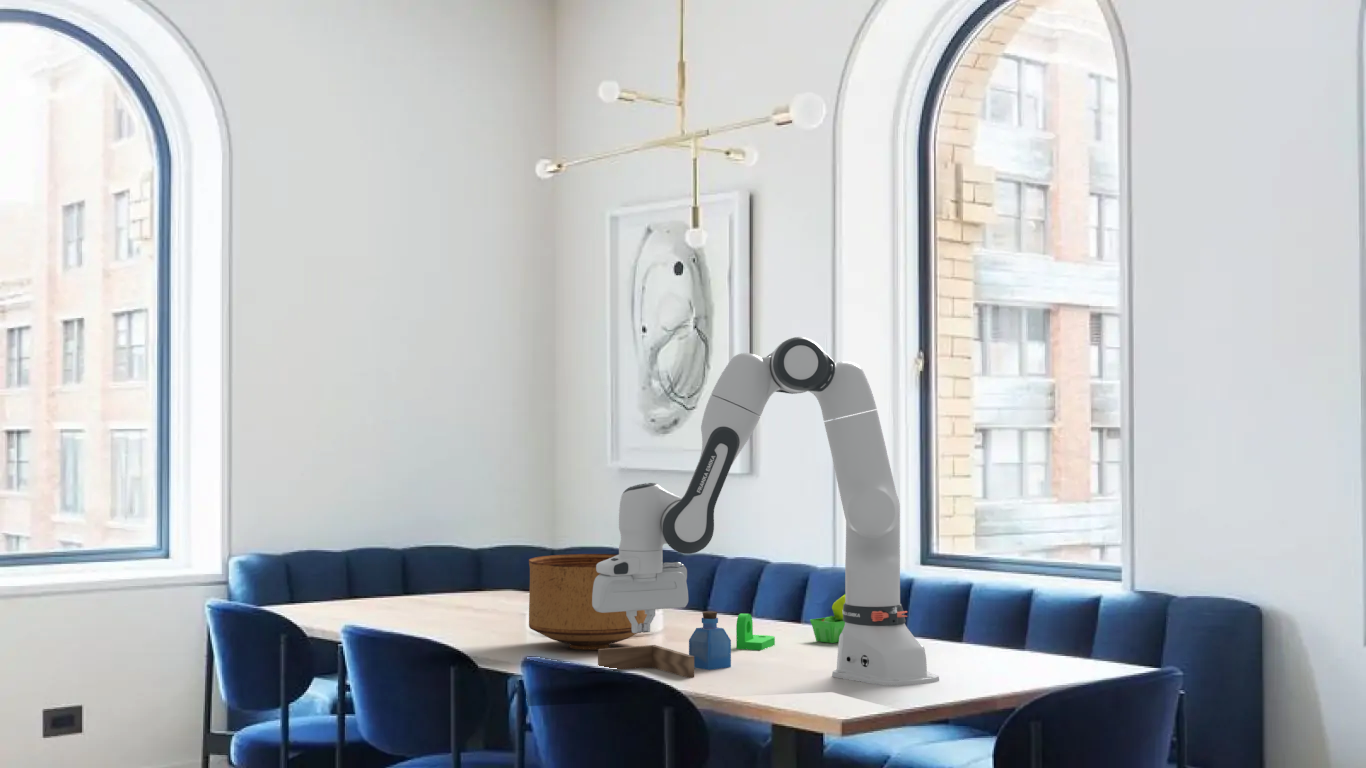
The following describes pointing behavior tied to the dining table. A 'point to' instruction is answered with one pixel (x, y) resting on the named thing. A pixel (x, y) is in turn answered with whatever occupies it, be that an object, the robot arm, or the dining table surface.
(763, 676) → the dining table surface
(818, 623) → the fruit basket
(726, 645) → the perfume bottle
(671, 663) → the l-shaped wooden board
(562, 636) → the pot
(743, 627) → the mechanical part
